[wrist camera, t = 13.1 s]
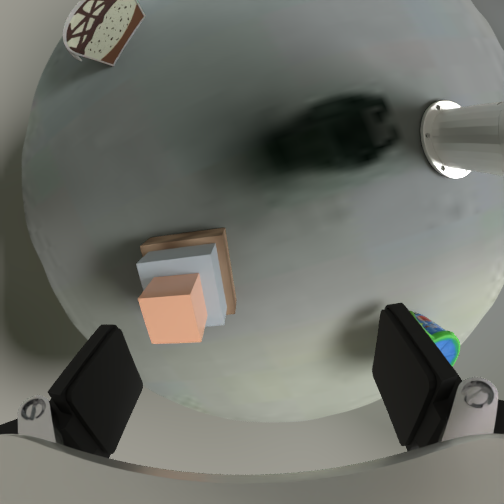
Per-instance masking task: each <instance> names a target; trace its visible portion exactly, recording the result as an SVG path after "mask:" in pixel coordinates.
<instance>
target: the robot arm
mask: <svg viewBox="0 0 504 504" xmlns="http://www.w3.org/2000/svg"><path fill="white" fill-rule="evenodd" d="M420 133H421V142H422V147H423V150H424V153H425V155H426V157H427V159H428V161H429V162H430V164H431V165H432V167H433V168H434V169H435V170H436V171H437V172H439V173H440V174H441V175H443V176H445V177H449V178H456V179H458V178H462V177H464V176H466V175H467V174H468V173H470V172H471V171H474V172H481V173H487V174H493V175H499V176H504V102H497V103H488V104H480V105H473V106H466V107H461V106H460V105H458V104H456V103H455V102H452V101H448V100H442V101H438V102H435V103H433V104H431V105H430V106H429V107H428V108H427V109H426V111H425V113H424V115H423V118H422V121H421V129H420ZM372 372H373V377H374V380H375V382H376V384H377V387H378V389H379V392H380V394H381V396H382V399H383V401H384V404H385V406H386V408H387V411H388V413H389V416H390V419H391V421H392V424H393V426H394V429H395V432H396V434H397V437H398V439H399V442H400V444H401V445H402V446H406V448H407V452H404V453H401V454H397V455H393V456H389V457H386V458H381V459H377V460H372V461H368V462H363V463H358V464H353V465H348V466H343V467H337V468H330V469H324V470H316V471H308V472H298V473H285V474H265V475H223V474H222V475H221V474H204V473H192V472H182V471H174V470H166V469H159V468H153V467H147V466H141V465H136V464H131V463H126V462H122V461H117V460H113V459H109V457H110V455H111V454H113V453H114V452H115V450H116V447H117V445H118V443H119V440H120V438H121V436H122V434H123V431H124V429H125V427H126V424H127V422H128V420H129V418H130V415H131V413H132V411H133V409H134V407H135V404H136V402H137V400H138V398H139V395H140V393H141V391H142V388H143V383H142V380H141V378H140V375H139V373H138V371H137V368H136V366H135V364H134V361H133V359H132V356H131V354H130V351H129V349H128V346H127V344H126V341H125V338H124V336H123V333H122V331H121V329H118V327H117V326H116V325H101V326H100V327H99V328H98V329H97V330H96V331H95V332H94V334H93V335H92V336H91V337H90V339H89V340H88V341H87V342H86V344H85V345H84V346H83V347H82V348H81V350H80V351H79V352H78V353H77V355H76V356H75V357H74V358H73V360H72V361H71V362H70V363H69V365H68V366H67V367H66V369H65V370H64V371H63V372H62V374H61V375H60V376H59V378H58V379H57V380H56V381H55V383H54V384H53V386H52V387H51V388H50V390H49V391H48V393H49V395H50V397H51V400H50V401H48V399H47V398H46V397H44V396H32V397H30V398H28V399H27V400H25V401H24V402H23V403H22V404H21V406H20V408H19V409H18V419H16V420H13V421H10V422H7V423H5V424H2V425H0V504H504V401H503V400H499V399H498V391H497V389H496V387H495V386H494V385H493V383H492V382H490V381H488V380H487V379H484V378H481V377H471V378H467V379H465V380H463V381H462V380H461V378H460V377H459V375H458V374H457V373H456V371H455V370H454V369H453V367H452V366H451V364H450V363H449V362H448V360H447V359H446V357H445V356H444V355H443V353H442V352H441V351H440V349H439V348H438V347H437V346H436V344H435V343H434V342H433V340H432V339H431V338H430V336H429V335H428V334H427V333H426V331H425V330H424V329H423V328H422V326H421V325H420V324H419V323H418V321H417V320H416V319H415V318H414V316H413V315H412V314H411V313H410V311H409V310H408V309H407V308H406V307H405V305H404V304H403V303H396V304H390V305H387V306H386V307H385V310H382V311H381V313H380V321H379V329H378V336H377V343H376V350H375V356H374V362H373V368H372Z"/></svg>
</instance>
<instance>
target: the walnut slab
mask: <svg viewBox="0 0 504 504" xmlns="http://www.w3.org/2000/svg"><path fill="white" fill-rule="evenodd" d="M211 243H216V248H217V254H218V260H219V266H220V271H221V277H222V283H223V288H224V294H225V299H226V304H227V311H226V315H228V314H235V309H236V294H235V288H234V282H233V276H232V269H231V263H230V256H229V250H228V243H227V237H226V230H225V228H218V229H210V230H203V231H195V232H188V233H180V234H173V235H166V236H159V237H152V238H149V239H148V240H147V241H145V242H144V243H143V244H142V245H141V246H140V249H141V253H142V257H144V256H145V255H146V254H147V253H148V252H151V251H158V250H165V249H173V248H180V247H188V246H195V245H203V244H211Z"/></svg>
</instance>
